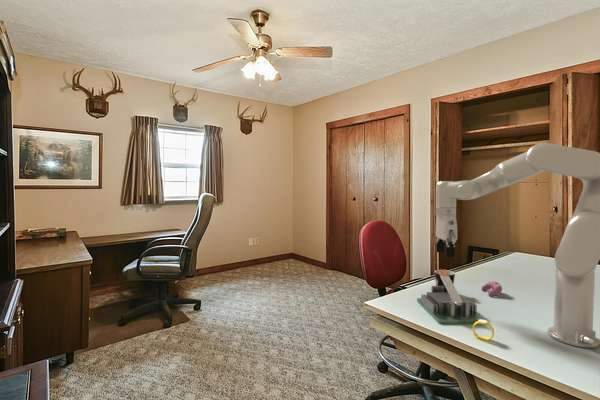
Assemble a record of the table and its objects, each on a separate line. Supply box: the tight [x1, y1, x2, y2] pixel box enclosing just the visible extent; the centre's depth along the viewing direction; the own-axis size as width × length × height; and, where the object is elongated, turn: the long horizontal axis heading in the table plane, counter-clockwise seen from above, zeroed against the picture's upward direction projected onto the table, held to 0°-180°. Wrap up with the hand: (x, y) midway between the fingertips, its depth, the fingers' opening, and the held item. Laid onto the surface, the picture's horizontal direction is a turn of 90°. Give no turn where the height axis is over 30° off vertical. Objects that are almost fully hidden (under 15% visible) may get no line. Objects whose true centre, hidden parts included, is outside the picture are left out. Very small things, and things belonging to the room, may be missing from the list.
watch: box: [471, 319, 495, 341], centre depth 102 cm, size 6×3×6 cm, turn 55°
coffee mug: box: [434, 269, 456, 292], centre depth 144 cm, size 12×9×10 cm
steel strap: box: [437, 269, 464, 306], centre depth 123 cm, size 18×3×1 cm
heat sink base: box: [416, 285, 487, 325], centre depth 124 cm, size 22×17×7 cm
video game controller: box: [481, 280, 503, 298], centre depth 145 cm, size 10×5×7 cm, turn 169°
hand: (445, 254), depth 127 cm, fingers open, 8 cm apart
